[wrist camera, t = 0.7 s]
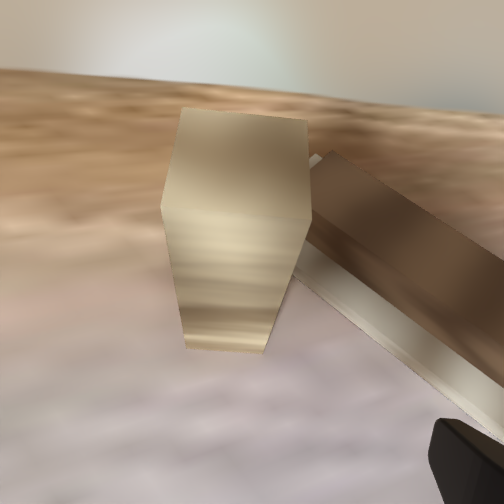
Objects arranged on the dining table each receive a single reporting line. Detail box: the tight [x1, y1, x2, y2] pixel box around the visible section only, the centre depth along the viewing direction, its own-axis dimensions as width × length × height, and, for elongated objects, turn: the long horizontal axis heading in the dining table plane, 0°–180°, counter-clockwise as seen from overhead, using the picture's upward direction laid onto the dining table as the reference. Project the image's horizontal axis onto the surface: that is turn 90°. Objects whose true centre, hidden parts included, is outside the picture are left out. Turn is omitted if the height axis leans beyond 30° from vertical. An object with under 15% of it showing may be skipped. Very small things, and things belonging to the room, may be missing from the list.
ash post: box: [160, 107, 312, 354], centre depth 18 cm, size 4×4×13 cm
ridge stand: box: [292, 151, 504, 442], centre depth 22 cm, size 30×9×4 cm, turn 48°
